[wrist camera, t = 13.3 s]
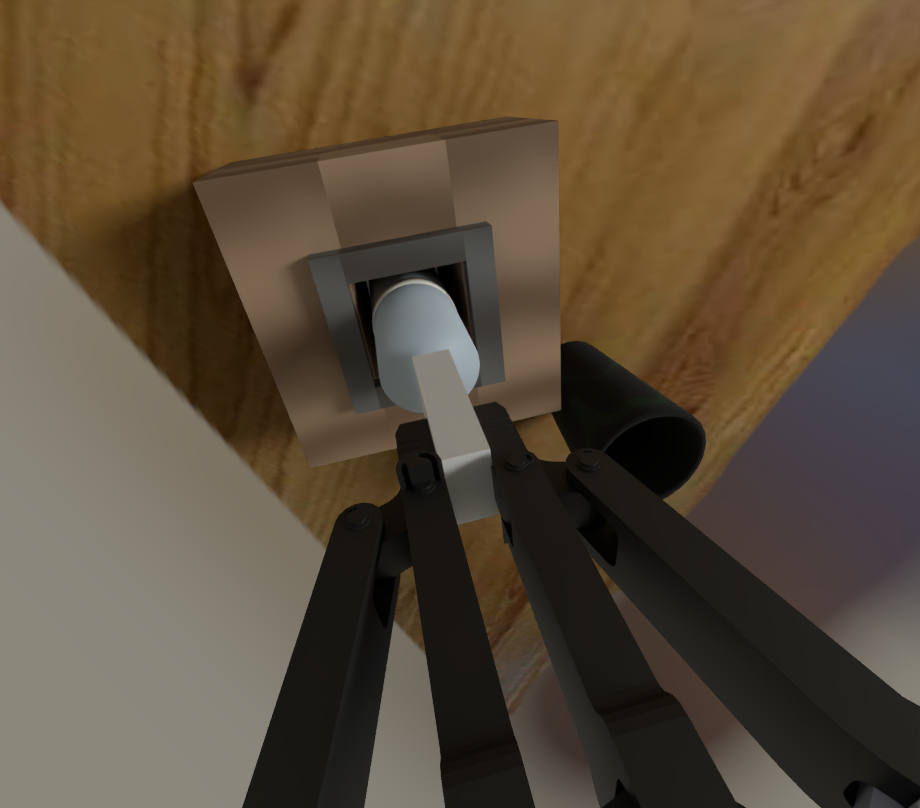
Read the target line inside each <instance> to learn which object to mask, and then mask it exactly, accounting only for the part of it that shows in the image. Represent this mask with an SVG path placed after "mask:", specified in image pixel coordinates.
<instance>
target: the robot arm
mask: <svg viewBox="0 0 920 808" xmlns="http://www.w3.org/2000/svg"><path fill="white" fill-rule="evenodd" d="M412 360H413V364H414V369H415V374H416V378H417V383H418V388H419V392H420V397H421V402H422V406H423V411H424V415H425V419H421V420H416V421H412V422H408V423H403V424H399V427H398V429H397V431H396V433H395V437H396V444H397V451H398V457H399V462H398V464H397V467H396V472H397V476H398V479H399V483H400V487H401V489H400V491H399V493H398V494H397V495H396V496H395V497H394V498H393V499H392V500H391V501H389V502H387V503H386V504H384V505H382V506H380V507H377V506H375V505H373V504H371V503H360V504H355V505H353V506H351V507H349V508H347V509H345V510H344V511H343V512H342V513H341V514H340V515H339V516H338V518H337V520H336V522H335V524H334V528H333V531H332V534H331V537H330V540H329V543H328V546H327V549H326V552H325V555H324V558H323V561H322V564H321V567H320V571H319V574H318V577H317V580H316V583H315V586H314V589H313V592H312V595H311V598H310V601H309V604H308V608H307V610H306V614H305V617H304V620H303V623H302V626H301V629H300V632H299V635H298V638H297V641H296V644H295V647H294V651H293V653H292V656H291V660H290V663H289V666H288V669H287V673H286V675H285V678H284V681H283V684H282V687H281V690H280V693H279V696H278V700H277V702H276V706H275V709H274V712H273V715H272V718H271V721H270V724H269V727H268V730H267V733H266V736H265V739H264V743H263V746H262V749H261V752H260V755H259V758H258V761H257V764H256V767H255V770H254V773H253V776H252V779H251V782H250V785H249V788H248V792H247V795H246V798H245V801H244V804H243V807H242V808H364V805H365V799H366V792H367V786H368V780H369V773H370V767H371V761H372V754H373V748H374V742H375V735H376V729H377V722H378V715H379V710H380V703H381V697H382V691H383V684H384V678H385V671H386V665H387V659H388V652H389V646H390V640H391V633H392V627H393V621H394V615H395V608H396V602H397V596H398V589H399V583H400V573H401V572H403V571H405V570H407V569H408V568H410V567H412V566H413V570H414V577H415V584H416V590H417V597H418V604H419V611H420V617H421V624H422V631H423V638H424V644H425V651H426V658H427V665H428V671H429V678H430V684H431V692H432V698H433V705H434V711H435V718H436V725H437V732H438V739H439V745H440V754H441V762H440V769H441V780H442V787H443V794H444V802H445V808H535V805H534V801H533V798H532V794H531V790H530V787H529V783H528V779H527V776H526V772H525V768H524V764H523V761H522V758H521V754H520V751H519V748H518V745H517V741H516V739H515V736H514V733H513V730H512V726H511V722H510V719H509V715H508V711H507V707H506V704H505V700H504V696H503V693H502V689H501V685H500V681H499V678H498V674H497V670H496V666H495V663H494V659H493V655H492V652H491V648H490V644H489V640H488V637H487V633H486V629H485V626H484V622H483V618H482V614H481V611H480V607H479V603H478V599H477V596H476V592H475V588H474V585H473V581H472V577H471V573H470V570H469V566H468V562H467V559H466V555H465V551H464V547H463V544H462V540H461V536H460V532H459V529H458V524H462V523H466V522H470V521H474V520H478V519H482V518H486V517H490V516H494V515H498V509H499V512H500V514H501V520H502V528H503V537H504V544H505V543H508V544H509V547H510V550H511V552H512V555H513V558H514V561H515V563H516V566H517V569H518V572H519V574H520V577H521V580H522V583H523V585H524V588H525V591H526V593H527V596H528V599H529V602H530V604H531V607H532V610H533V613H534V615H535V618H536V621H537V624H538V626H539V629H540V632H541V635H542V637H543V640H544V643H545V646H546V648H547V651H548V654H549V656H550V659H551V662H552V665H553V667H554V670H555V673H556V676H557V678H558V681H559V684H560V687H561V689H562V692H563V695H564V697H565V700H566V703H567V706H568V708H569V711H570V714H571V717H572V719H573V722H574V725H575V728H576V730H577V733H578V736H579V739H580V741H581V744H582V747H583V750H584V752H585V755H586V758H587V761H588V764H589V767H590V770H591V775H592V779H593V784H594V788H595V791H596V795H597V799H598V802H599V805H600V808H745V807H744V806H742V805H741V804H739V803H737V802H736V801H735V800H734V798H733V796H732V794H731V792H730V791H729V789H728V787H727V785H726V784H725V782H724V780H723V778H722V776H721V775H720V773H719V771H718V769H717V767H716V765H715V764H714V762H713V760H712V758H711V756H710V755H709V753H708V751H707V749H706V747H705V746H704V744H703V742H702V740H701V738H700V737H699V735H698V733H697V731H696V730H695V728H694V726H693V724H692V722H691V720H690V719H689V717H688V715H687V713H686V712H685V710H684V709H683V707H682V706H681V704H680V703H679V701H678V700H677V699H676V698H675V697H674V696H673V695H672V694H670V693H668V692H665V691H664V690H663V689H662V688H661V687H660V685H659V684H658V682H657V680H656V678H655V676H654V674H653V673H652V671H651V669H650V667H649V665H648V663H647V661H646V660H645V658H644V656H643V654H642V652H641V650H640V648H639V646H638V645H637V643H636V641H635V639H634V637H633V635H632V634H631V632H630V630H629V628H628V626H627V624H626V622H625V620H624V618H623V617H622V615H621V613H620V611H619V609H618V608H617V605H616V604H615V602H614V600H613V598H612V596H611V594H610V592H609V590H608V589H607V587H606V585H605V583H604V581H603V579H602V577H601V576H600V574H599V572H598V570H597V568H596V566H595V564H594V562H593V561H592V559H591V557H592V558H593V559H594V560H595V561H596V562H597V563H598V564H599V566H600V567H601V568H602V569H603V570H604V571H605V572H606V573H607V575H608V576H609V577H610V578H611V579H612V580H613V581H614V582H615V583H616V585H617V586H618V587H619V588H620V589H621V590H622V591H623V592H624V594H625V595H626V596H627V597H628V598H629V599H630V600H631V601H632V602H633V603H634V605H635V606H636V607H637V608H638V609H639V610H640V611H641V613H642V614H643V615H644V616H645V617H646V618H647V619H648V620H649V621H650V622H651V624H652V625H653V626H654V627H655V628H656V629H657V630H658V631H659V633H660V634H661V635H662V636H663V637H664V638H665V639H666V640H667V642H668V643H669V644H670V645H671V646H672V647H673V648H674V649H675V650H676V652H677V653H678V654H679V655H680V656H681V657H682V658H683V659H684V661H685V662H687V664H688V665H689V666H690V667H691V668H692V669H693V671H695V673H696V674H697V675H698V676H699V677H700V678H701V680H702V681H703V682H704V683H705V684H706V685H707V686H708V687H709V688H710V690H711V691H712V692H713V693H714V694H715V695H716V696H717V697H718V699H720V701H721V702H722V703H723V704H724V705H725V706H726V707H727V709H728V710H729V711H730V712H731V713H732V714H733V715H734V716H735V717H736V718H737V720H738V721H739V722H740V723H741V724H742V725H743V726H744V728H745V729H746V730H747V731H748V732H749V733H750V734H751V735H752V736H753V737H754V739H755V740H756V741H757V742H758V743H759V744H760V745H761V746H762V748H763V749H764V750H765V751H766V752H767V753H768V754H769V755H770V757H771V758H772V759H773V760H774V761H775V762H776V763H777V764H778V766H779V767H780V768H781V769H782V770H783V771H784V772H785V773H786V774H787V775H788V776H789V777H790V778H791V779H792V780H793V781H794V782H795V783H796V784H797V785H798V786H799V787H800V788H801V789H802V790H803V792H805V794H807V795H808V796H809V797H810V798H811V799H812V800H813V801H814V802H815V803H816V804H818V805H819V806H820V807H821V808H920V706H918V705H916V704H915V703H913V702H911V701H909V700H907V699H906V698H904V697H902V696H901V695H900V694H899V693H897V692H896V691H895V690H894V689H893V688H891V687H890V686H889V685H887V684H886V683H885V682H884V681H883V680H882V679H880V678H879V677H878V676H877V675H875V674H874V673H873V672H872V671H871V670H869V669H868V668H867V667H866V666H864V665H863V664H862V663H861V662H860V661H858V660H857V659H856V658H855V657H853V656H852V655H851V654H850V653H849V652H847V651H846V650H845V649H844V648H843V647H841V646H840V645H839V644H838V643H836V642H835V641H834V640H833V639H832V638H830V637H829V636H828V635H826V634H825V633H824V632H823V631H822V630H821V629H819V628H818V627H817V626H816V625H814V624H813V623H812V622H811V621H810V620H808V619H807V618H806V617H805V616H804V615H802V614H801V613H800V612H798V611H797V610H796V609H795V608H794V607H792V606H791V605H790V604H789V603H788V602H786V601H785V600H784V599H783V598H782V597H780V596H779V595H778V594H777V593H775V592H774V591H773V590H772V589H771V588H769V587H768V586H767V585H766V584H764V583H763V582H762V581H761V580H759V579H758V578H757V577H756V576H755V575H753V574H752V573H751V572H749V571H748V570H747V569H746V568H745V567H744V566H742V565H741V564H740V563H739V562H738V561H736V560H735V559H734V558H733V557H731V556H730V555H729V554H728V553H727V552H725V551H724V550H723V549H722V548H720V547H719V546H718V545H717V544H715V543H714V542H713V541H712V540H711V539H709V538H708V537H707V536H706V535H705V534H703V533H702V532H701V531H700V530H698V529H697V528H696V527H695V526H694V525H692V524H691V523H690V522H689V521H688V520H686V519H685V518H684V517H683V516H681V515H680V514H679V513H678V512H677V511H675V510H674V509H673V508H672V507H670V506H669V505H668V504H667V503H666V502H664V501H663V500H662V499H661V498H659V497H658V496H657V495H656V494H655V493H653V492H652V491H651V490H650V489H648V488H647V487H646V486H645V485H644V484H642V483H641V482H640V481H639V480H638V479H636V478H635V477H634V476H633V475H631V474H630V473H629V472H628V471H627V470H625V469H624V468H623V467H622V466H620V465H619V464H618V463H617V462H616V461H614V460H613V459H612V458H611V457H609V456H608V455H607V454H605V453H604V452H602V451H600V450H596V449H592V448H582V449H579V450H575V451H573V452H572V453H570V454H569V455H568V457H567V459H566V462H550V461H543V460H540V459H538V458H537V457H536V456H535V455H534V454H533V453H531V452H529V451H528V450H527V449H526V447H525V445H524V443H523V441H522V439H521V437H520V435H519V433H518V432H517V430H516V428H515V426H514V425H513V422H512V420H511V418H510V416H509V414H508V412H507V411H506V409H505V408H504V407H503V406H501V405H500V404H498V403H497V402H491V403H487V404H483V405H478V406H474V407H473V406H472V404H471V402H470V399H469V397H468V394H467V392H466V390H465V387H464V385H463V382H462V380H461V378H460V375H459V373H458V371H457V368H456V366H455V363H454V361H453V359H452V356H451V354H450V351H449V349H447V350H442V351H437V352H433V353H428V354H423V355H419V356H414V357H412ZM497 506H498V509H497ZM589 554H590V555H589ZM590 556H591V557H590Z"/></svg>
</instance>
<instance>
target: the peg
mask: <svg viewBox="0 0 920 808" xmlns="http://www.w3.org/2000/svg"><path fill="white" fill-rule="evenodd" d="M369 290H370V299H371V308H372V326H373V332H374V336H375V344H376V353H377V362H378V371H379V378H380V383H381V386H382V388H383V390H384V392H385V393H386V395H387V396H388V397H389V398H390V399H391V401H393V402H394V403H395V404H396V405H398V406H400V407H401V408H403V409H406V410H408V411H412V412H416V413H424V411H423V406H422V402H421V397H420V392H419V388H418V383H417V378H416V374H415V369H414V364H413V360H412V357H414V356H419V355H423V354H428V353H433V352H437V351H442V350H447V349H449V351H450V354H451V356H452V359H453V361H454V363H455V366H456V368H457V371H458V373H459V375H460V378H461V380H462V382H463V385H464V387H465V390H466V392H467V394H469V393H470V392H471V390H472V389H473V387H474V385H475V384H476V381H477V379H478V375H479V369H480V361H479V355H478V352H477V350H476V348H475V346H474V344H473V342H472V340H471V338H470V336H469V334H468V332H467V330H466V328H465V326H464V324H463V322H462V320H461V318H460V316H459V315H458V313H457V310H456V307H455V305H454V303H453V301H452V299H451V297H450V295H449V294H448V292H447V291H446V289H445V287H444V285H443V283H442V281H441V279H440V277H439V276H438V274H437V272H436V270H435V268H434V267H433V268H428V269H423V270H418V271H413V272H408V273H402V274H397V275H392V276H387V277H382V278H377V279H372V280H369Z"/></svg>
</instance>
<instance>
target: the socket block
mask: <svg viewBox="0 0 920 808" xmlns="http://www.w3.org/2000/svg"><path fill="white" fill-rule="evenodd" d="M192 183H193V185H194V188H195V190H196V192H197V195H198V197H199V200H200V202H201V204H202V207H203V209H204V212H205V214H206V217H207V219H208V221H209V224H210V226H211V229H212V231H213V233H214V236H215V238H216V241H217V243H218V245H219V248H220V250H221V253H222V255H223V258H224V260H225V262H226V265H227V267H228V270H229V272H230V274H231V277H232V279H233V282H234V284H235V286H236V289H237V291H238V294H239V296H240V299H241V301H242V303H243V306H244V308H245V311H246V313H247V315H248V318H249V320H250V323H251V325H252V327H253V330H254V332H255V335H256V337H257V340H258V342H259V344H260V347H261V349H262V352H263V354H264V356H265V359H266V361H267V364H268V366H269V368H270V371H271V373H272V376H273V378H274V381H275V383H276V385H277V388H278V390H279V393H280V395H281V397H282V400H283V402H284V405H285V407H286V409H287V412H288V414H289V417H290V419H291V422H292V424H293V426H294V429H295V431H296V434H297V436H298V438H299V441H300V443H301V446H302V448H303V450H304V453H305V455H306V458H307V460H308V463H309V465H310V467H311V468H314V467H318V466H322V465H326V464H331V463H335V462H339V461H344V460H348V459H352V458H357V457H361V456H365V455H370V454H374V453H378V452H383V451H387V450H391V449H396V448H397V444H396V437H395V433H396V431H397V429H398V427H399V424H403V423H408V422H412V421H416V420H421V419H425V415H424V413H416V412H412V411H408V410H406V409H403V408H401V407H400V406H398V405H396V404H395V403H394V402H393V401H391V399H390V398H389V397H388V396H387V395H386V393H385V392H384V390H383V388H382V386H381V383H380V378H379V371H378V362H377V353H376V344H375V336H374V332H373V326H372V321H369V317H368V313H367V309H366V305H365V301H364V298H363V294H362V290H361V286H360V282H361V281H367V280H372V279H377V278H382V277H387V276H392V275H397V274H402V273H408V272H413V271H418V270H423V269H428V268H433V267H438V266H442V270H443V277H444V283H445V289H446V291H447V292H448V294H449V295H450V297H451V299H452V301H453V303H454V305H455V307H456V310H457V313H458V315H459V316H460V318H461V320H462V322H463V324H464V326H465V328H466V330H467V332H468V334H469V336H470V338H471V340H472V342H473V344H474V346H475V348H476V350H477V352H478V355H479V361H480V369H479V375H478V379H477V381H476V384H475V385H474V387H473V389H472V390H471V392H470V393H469V394H468V397H469V399H470V402H471V404H472V406H473V407H474V406H478V405H483V404H487V403H491V402H497V403H498V404H500V405H501V406H503V407H504V408H505V409H506V411H507V412H508V414H509V416H510V418H511V420H512V421H516V420H521V419H525V418H529V417H534V416H538V415H542V414H547V413H551V412H555V411H559V410H561V351H560V253H559V155H558V121H555V120H543V119H530V118H518V117H502V118H496V119H490V120H484V121H478V122H472V123H466V124H460V125H454V126H448V127H442V128H436V129H430V130H424V131H418V132H412V133H406V134H400V135H394V136H388V137H382V138H376V139H370V140H364V141H358V142H352V143H346V144H340V145H334V146H328V147H322V148H316V149H310V150H304V151H298V152H292V153H286V154H280V155H274V156H267V157H261V158H255V159H249V160H243V161H237V162H231V163H229V164H227V165H225V166H224V167H222V168H220V169H218V170H216V171H214V172H212V173H210V174H208V175H206V176H204V177H202V178H200V179H198V180H196V181H194V182H192Z"/></svg>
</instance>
